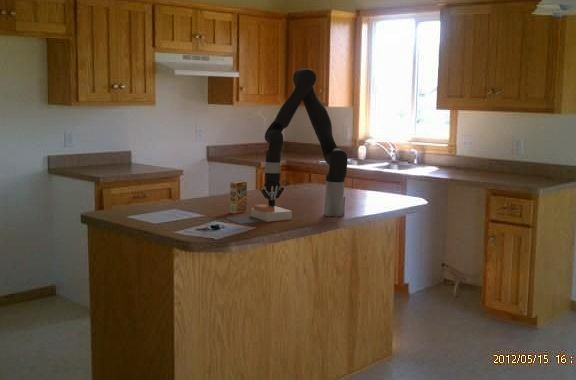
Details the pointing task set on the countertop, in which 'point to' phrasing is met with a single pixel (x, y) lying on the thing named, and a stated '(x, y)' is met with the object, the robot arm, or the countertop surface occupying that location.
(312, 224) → the countertop surface
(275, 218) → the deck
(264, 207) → the block
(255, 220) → the mat
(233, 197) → the candy box
